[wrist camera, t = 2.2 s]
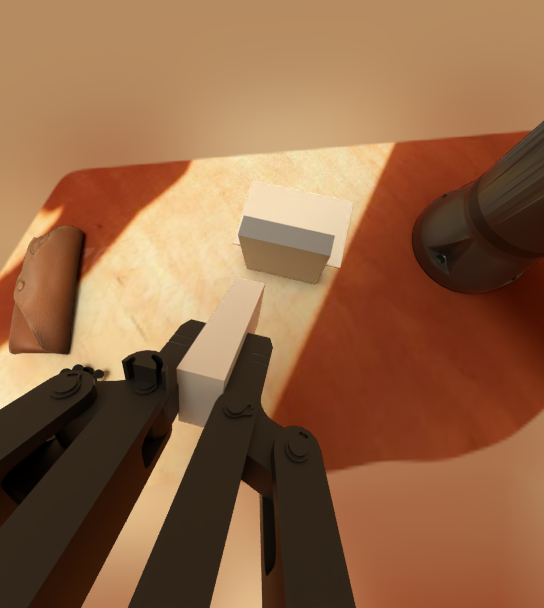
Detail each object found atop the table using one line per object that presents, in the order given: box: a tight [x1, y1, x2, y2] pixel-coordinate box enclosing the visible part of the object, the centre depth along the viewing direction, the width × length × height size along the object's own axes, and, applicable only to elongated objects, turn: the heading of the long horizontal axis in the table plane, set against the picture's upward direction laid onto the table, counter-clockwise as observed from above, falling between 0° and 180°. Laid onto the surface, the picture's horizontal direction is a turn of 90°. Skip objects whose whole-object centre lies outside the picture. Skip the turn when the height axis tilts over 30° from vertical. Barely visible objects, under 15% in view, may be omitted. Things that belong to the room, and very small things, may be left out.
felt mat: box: [233, 180, 353, 268], centre depth 38 cm, size 16×11×1 cm
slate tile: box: [238, 215, 335, 284], centre depth 31 cm, size 10×3×10 cm, turn 76°
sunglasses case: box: [9, 225, 83, 355], centre depth 34 cm, size 18×7×7 cm
